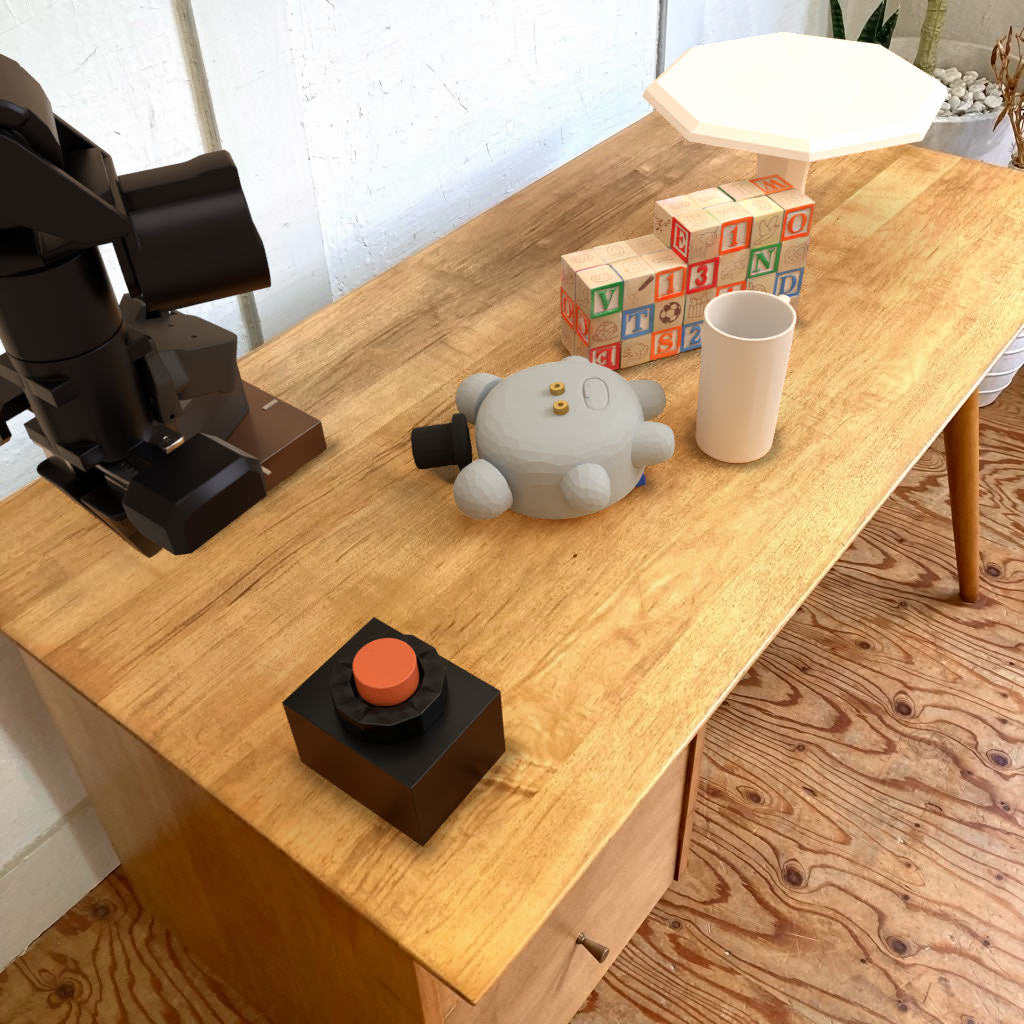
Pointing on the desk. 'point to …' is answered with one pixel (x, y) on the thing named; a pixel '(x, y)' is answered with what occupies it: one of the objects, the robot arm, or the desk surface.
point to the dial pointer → (212, 413)
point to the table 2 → (796, 99)
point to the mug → (742, 373)
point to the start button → (386, 672)
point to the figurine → (548, 440)
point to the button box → (399, 735)
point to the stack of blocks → (684, 270)
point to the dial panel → (277, 435)
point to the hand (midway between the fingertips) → (152, 551)
